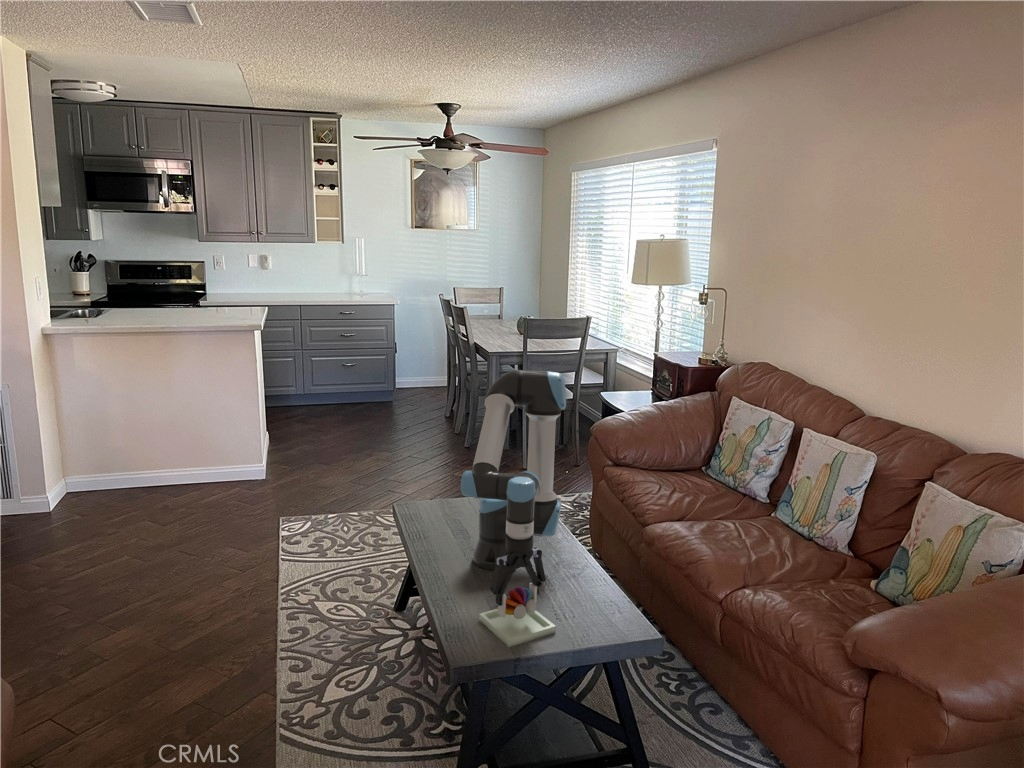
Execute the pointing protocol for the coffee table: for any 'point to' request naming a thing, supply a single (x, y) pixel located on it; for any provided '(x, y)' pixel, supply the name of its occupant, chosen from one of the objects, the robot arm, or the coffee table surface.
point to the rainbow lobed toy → (520, 603)
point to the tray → (517, 627)
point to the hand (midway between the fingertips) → (517, 610)
